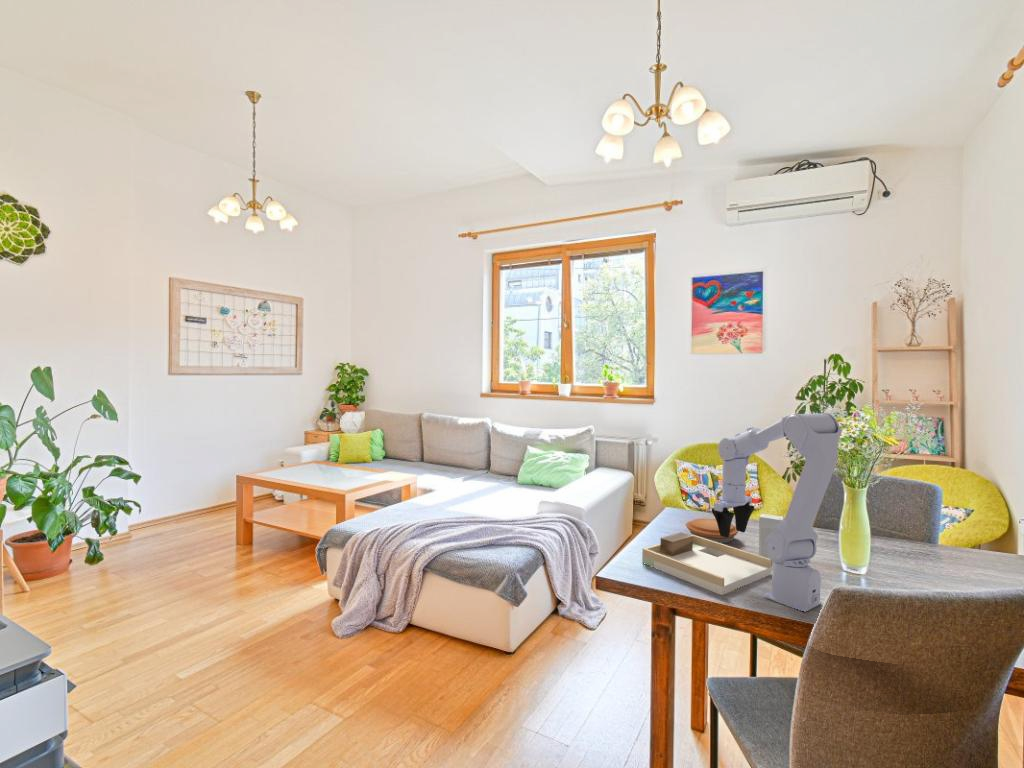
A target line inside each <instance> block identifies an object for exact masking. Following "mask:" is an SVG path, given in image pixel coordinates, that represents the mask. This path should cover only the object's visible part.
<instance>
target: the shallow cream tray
mask: <svg viewBox="0 0 1024 768" xmlns="http://www.w3.org/2000/svg"><path fill="white" fill-rule="evenodd" d="M690 535H691V536H693V549H692V550H691V551H688V552H685V553H681V554H678V555H675V556H670V555H667V554H664V553H662V552H660V544H661V543H658V544H655V545H651V546H648V547H644V548H642V551H641V552H642V556H641V557H642V559H641V561H642V562H641V563H642V564H643V563H645V564H644V565H646V564H647V565H646V566H648V565H649V566H648V567H651V566H652V567H651V568H653V567H654V568H653V569H656V568H657V569H656V570H659V571H660V570H661V572H663V573H666V574H667V575H671V576H673V577H675V578H679V579H681V580H683V581H685V582H688V583H691V584H693V585H695V586H698V587H700V588H702V589H705V590H707V591H710V592H712V593H716V594H718V595H720V596H724V595H726V594H728V593H731V592H734V591H736V590H738V589H741V588H743V587H745V586H747V584H748V585H750V584H752V583H755V582H756V581H759V580H762V579H764V578H766V576H767V577H769V576H772V560H770V559H769V558H766V557H763V556H759V554H755V553H752V552H750V551H746V550H743V549H739V548H736V547H733V546H731V545H730V546H729V545H727V544H721V543H718V542H715V541H712V540H708V539H705V538H702V537H699V536H696V535H693V534H690ZM768 575H769V576H768ZM761 578H762V579H761ZM754 581H755V582H754ZM749 583H750V584H749ZM744 585H745V586H744ZM742 586H743V587H742ZM740 587H741V588H740ZM737 588H738V589H737ZM735 589H736V590H735Z"/></svg>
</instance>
